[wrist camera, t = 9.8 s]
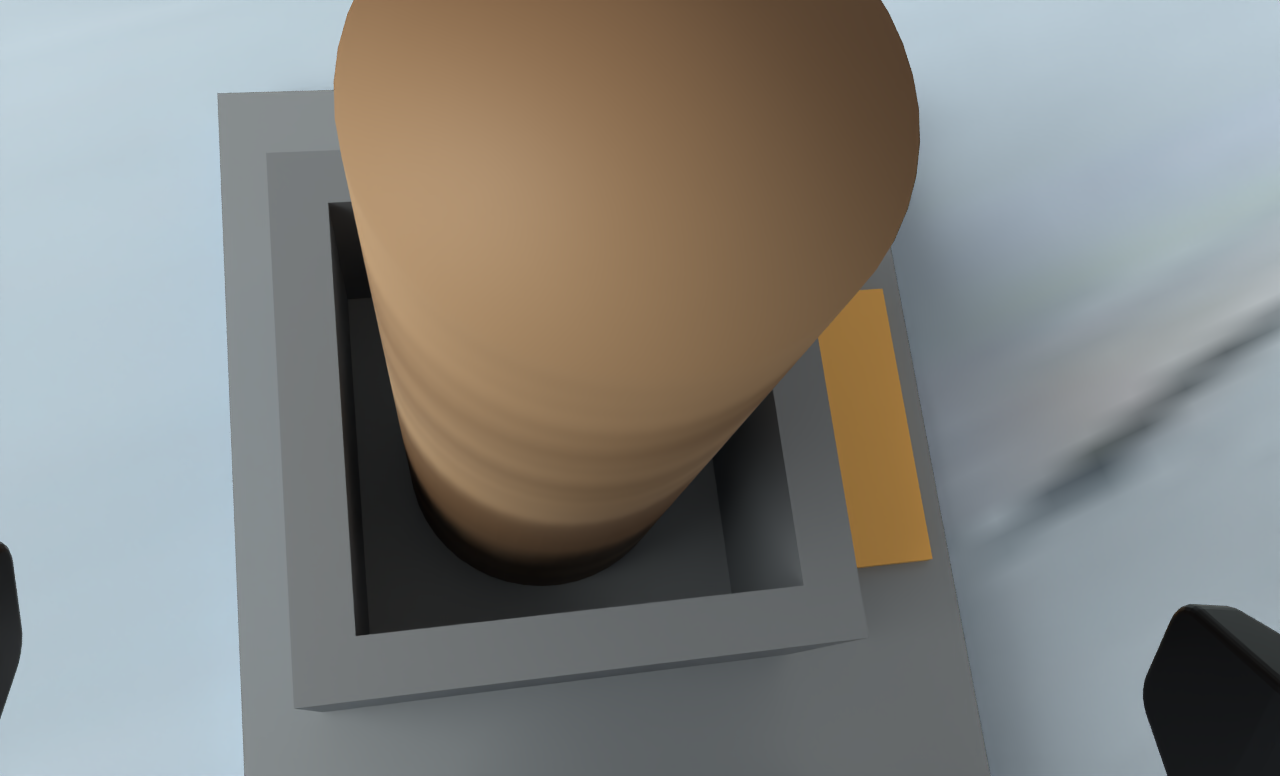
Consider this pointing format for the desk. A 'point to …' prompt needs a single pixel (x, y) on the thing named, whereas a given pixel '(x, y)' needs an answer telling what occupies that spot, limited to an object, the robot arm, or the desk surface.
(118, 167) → the desk surface
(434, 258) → the walnut peg
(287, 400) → the socket block
